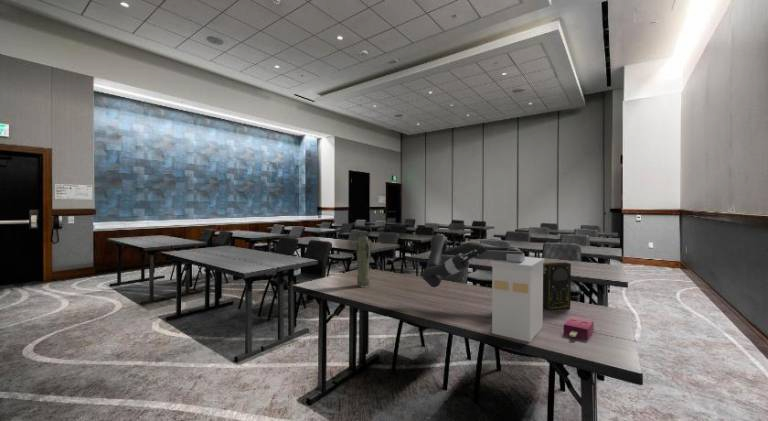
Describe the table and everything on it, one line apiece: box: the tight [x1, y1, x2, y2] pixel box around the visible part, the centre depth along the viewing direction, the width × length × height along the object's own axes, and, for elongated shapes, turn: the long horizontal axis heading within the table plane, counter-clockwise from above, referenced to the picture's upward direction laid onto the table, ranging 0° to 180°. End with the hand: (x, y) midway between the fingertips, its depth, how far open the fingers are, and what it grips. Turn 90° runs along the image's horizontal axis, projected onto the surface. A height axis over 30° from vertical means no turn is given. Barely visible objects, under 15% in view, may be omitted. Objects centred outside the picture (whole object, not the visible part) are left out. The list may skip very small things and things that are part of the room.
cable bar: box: [474, 250, 526, 262], centre depth 154 cm, size 22×6×4 cm, turn 52°
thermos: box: [356, 235, 372, 288], centre depth 237 cm, size 9×12×35 cm
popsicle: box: [563, 315, 595, 340], centre depth 149 cm, size 9×5×20 cm
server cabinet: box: [490, 256, 546, 343], centre depth 153 cm, size 17×23×32 cm
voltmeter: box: [543, 261, 572, 311], centre depth 187 cm, size 16×9×25 cm, turn 105°
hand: (485, 248), depth 157 cm, fingers closed on cable bar, 2 cm apart
